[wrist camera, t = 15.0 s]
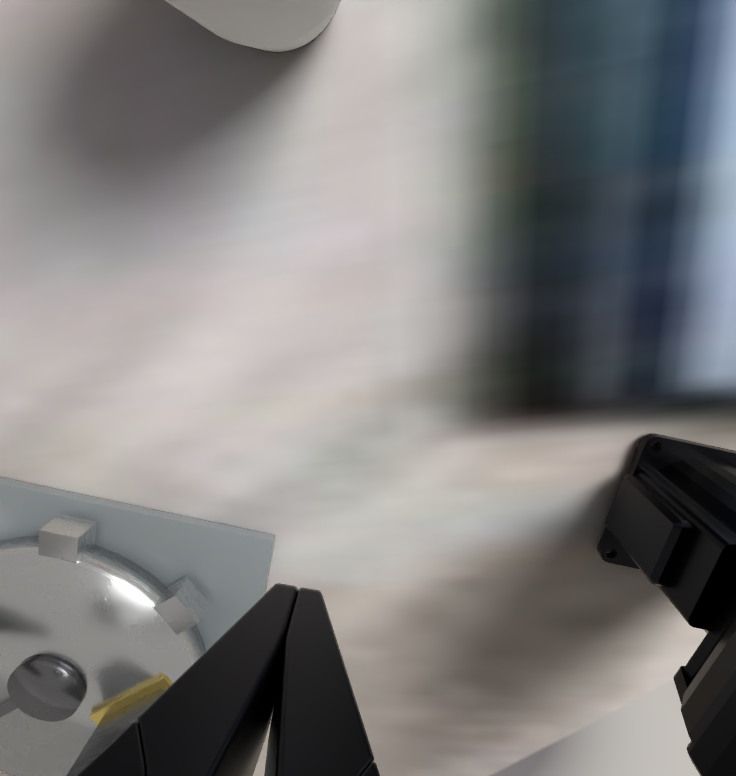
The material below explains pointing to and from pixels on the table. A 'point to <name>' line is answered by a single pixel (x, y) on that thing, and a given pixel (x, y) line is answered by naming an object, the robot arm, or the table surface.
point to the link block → (111, 730)
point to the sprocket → (81, 641)
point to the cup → (262, 20)
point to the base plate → (157, 546)
